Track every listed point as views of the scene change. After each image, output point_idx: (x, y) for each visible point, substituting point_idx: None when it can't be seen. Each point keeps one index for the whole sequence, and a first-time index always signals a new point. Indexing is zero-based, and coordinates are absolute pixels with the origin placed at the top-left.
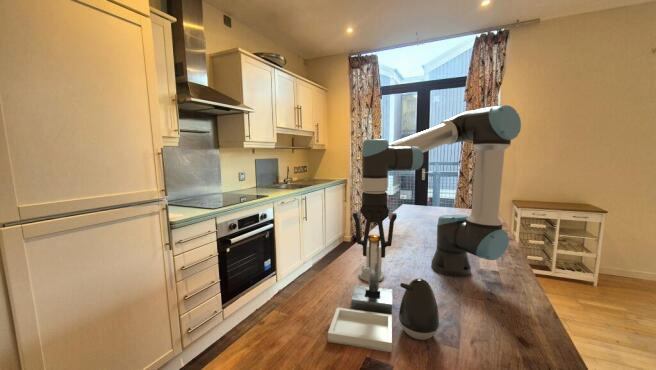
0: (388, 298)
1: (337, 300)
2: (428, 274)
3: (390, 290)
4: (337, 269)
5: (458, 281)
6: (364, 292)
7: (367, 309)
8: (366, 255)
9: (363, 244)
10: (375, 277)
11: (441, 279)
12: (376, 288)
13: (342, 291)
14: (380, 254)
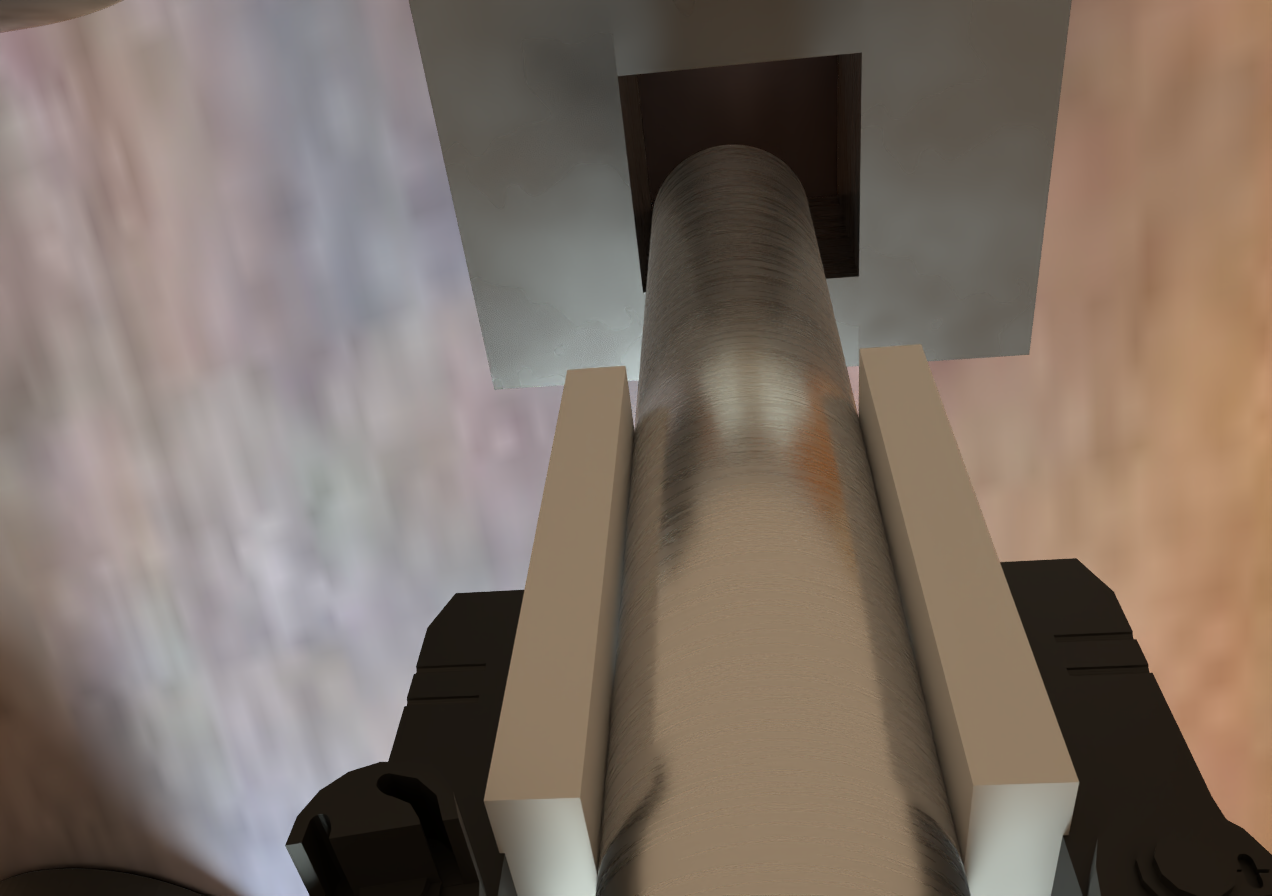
0: (493, 135)
1: (1235, 139)
2: (288, 861)
3: (511, 359)
4: (1232, 781)
5: (18, 810)
6: (873, 193)
7: None
8: (993, 551)
9: (1254, 890)
10: (693, 262)
11: (159, 811)
12: (676, 185)
13: (1164, 369)
14: (541, 624)
